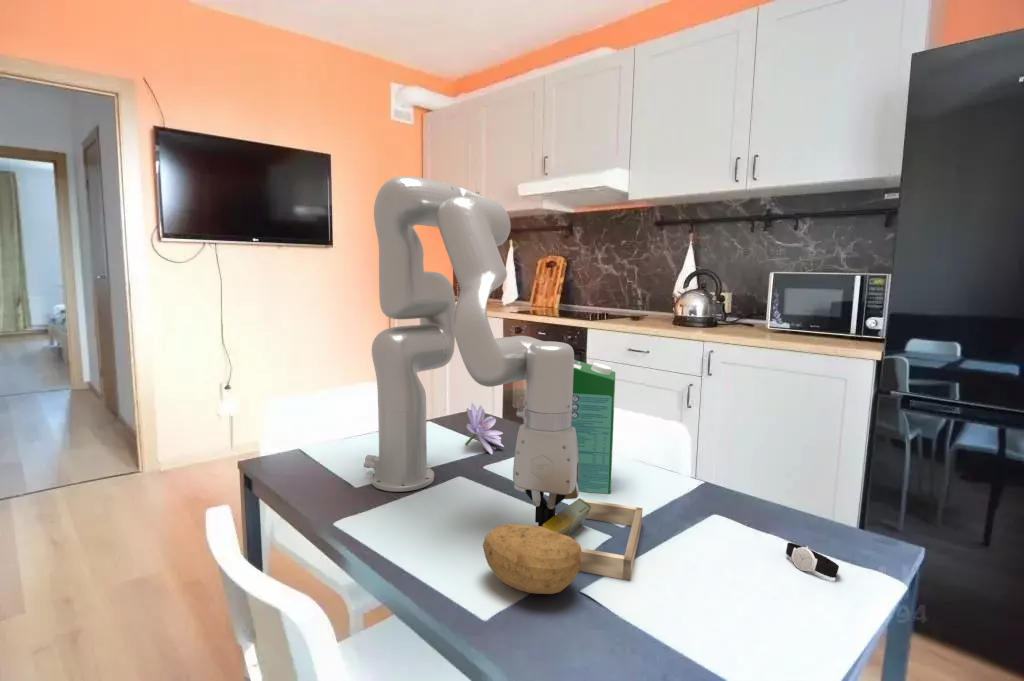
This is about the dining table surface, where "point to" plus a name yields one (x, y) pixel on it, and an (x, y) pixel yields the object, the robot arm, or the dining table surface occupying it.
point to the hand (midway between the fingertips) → (545, 527)
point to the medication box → (568, 518)
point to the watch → (811, 560)
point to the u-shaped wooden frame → (607, 561)
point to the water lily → (482, 428)
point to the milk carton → (594, 424)
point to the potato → (532, 558)
